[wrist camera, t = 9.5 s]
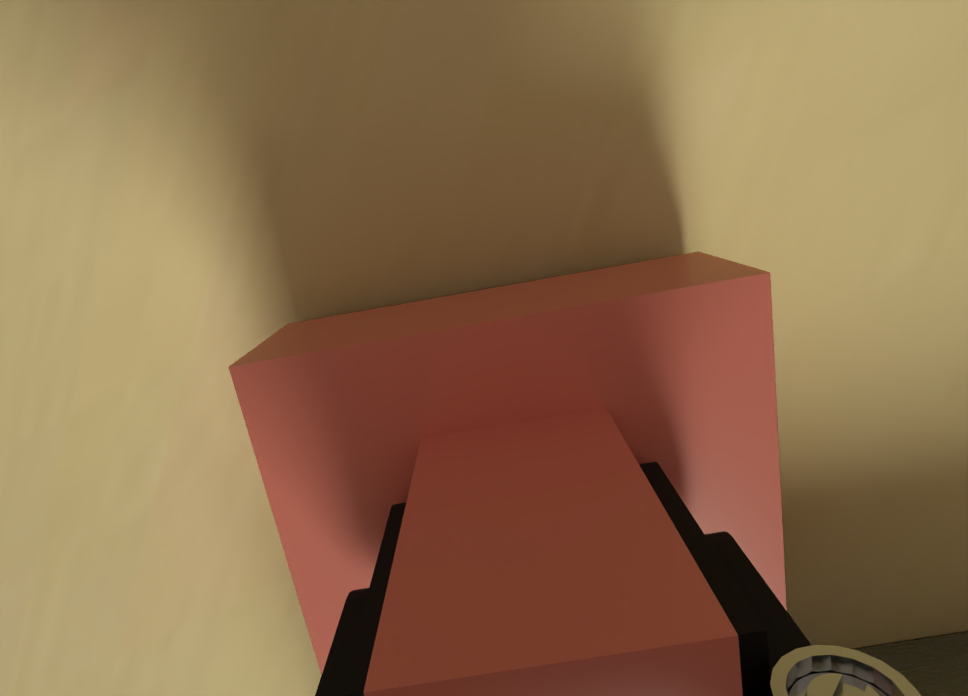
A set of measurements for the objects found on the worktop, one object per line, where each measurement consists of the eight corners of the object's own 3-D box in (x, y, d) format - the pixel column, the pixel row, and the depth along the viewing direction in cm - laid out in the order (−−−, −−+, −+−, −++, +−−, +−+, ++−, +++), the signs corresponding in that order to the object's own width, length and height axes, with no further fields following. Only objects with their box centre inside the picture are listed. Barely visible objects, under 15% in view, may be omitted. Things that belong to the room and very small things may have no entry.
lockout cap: (727, 605, 14) (1033, 1118, 6) (378, 659, 14) (262, 1212, 7) (698, 251, 12) (1114, 372, 4) (287, 323, 12) (-44, 563, 4)
